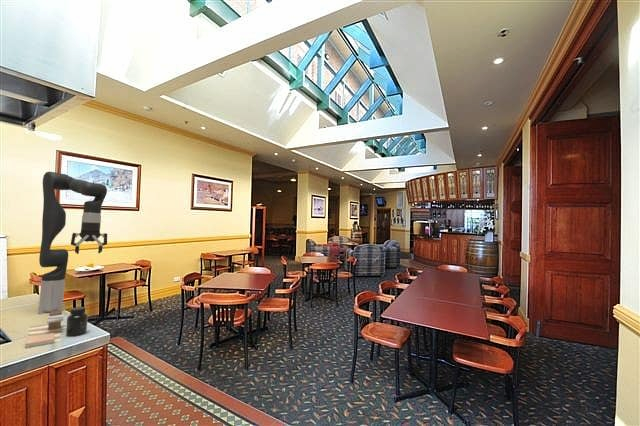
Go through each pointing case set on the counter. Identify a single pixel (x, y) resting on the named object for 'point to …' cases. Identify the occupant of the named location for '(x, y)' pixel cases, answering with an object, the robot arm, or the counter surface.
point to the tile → (39, 340)
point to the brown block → (55, 320)
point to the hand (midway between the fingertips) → (88, 253)
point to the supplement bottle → (77, 322)
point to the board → (44, 331)
